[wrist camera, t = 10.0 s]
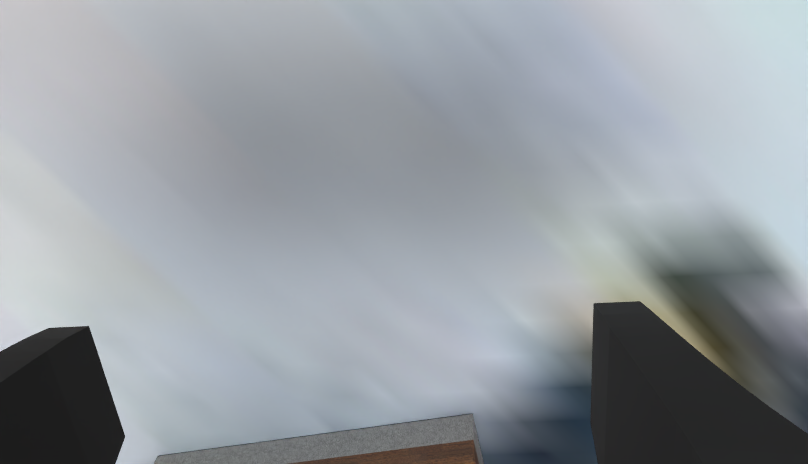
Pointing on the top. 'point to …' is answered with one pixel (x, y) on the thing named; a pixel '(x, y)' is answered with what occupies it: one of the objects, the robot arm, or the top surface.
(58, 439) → the robot arm
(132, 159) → the top surface
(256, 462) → the display case
